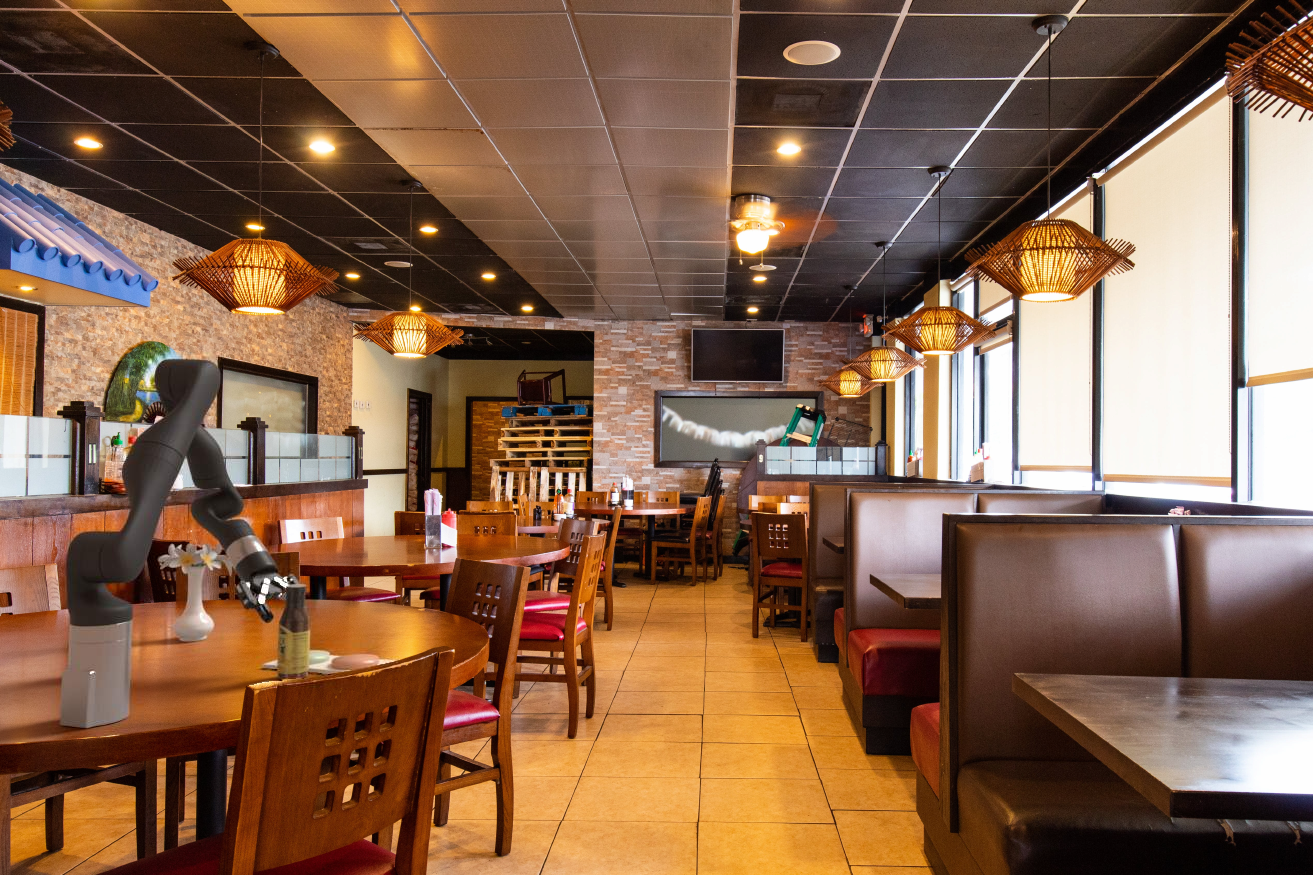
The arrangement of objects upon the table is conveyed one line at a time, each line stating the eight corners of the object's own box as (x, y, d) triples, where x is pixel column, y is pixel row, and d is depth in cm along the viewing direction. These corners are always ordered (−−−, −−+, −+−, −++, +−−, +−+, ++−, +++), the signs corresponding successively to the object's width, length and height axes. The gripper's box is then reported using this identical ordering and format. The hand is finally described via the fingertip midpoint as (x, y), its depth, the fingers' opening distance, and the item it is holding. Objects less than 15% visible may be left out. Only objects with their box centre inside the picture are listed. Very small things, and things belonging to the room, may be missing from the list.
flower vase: (240, 638, 211) (244, 542, 212) (159, 647, 199) (163, 546, 201) (228, 630, 221) (231, 539, 222) (150, 639, 209) (154, 542, 210)
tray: (364, 677, 173) (364, 667, 174) (262, 668, 180) (263, 658, 180) (395, 664, 185) (396, 655, 185) (299, 656, 192) (299, 647, 192)
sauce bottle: (276, 676, 174) (279, 583, 175) (308, 673, 176) (311, 582, 177) (276, 683, 168) (279, 587, 169) (309, 680, 171) (312, 586, 171)
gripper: (231, 552, 172) (268, 611, 166) (287, 546, 184) (322, 601, 179) (213, 575, 174) (249, 634, 168) (270, 568, 186) (304, 622, 181)
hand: (287, 617), depth 174 cm, fingers open, 8 cm apart
